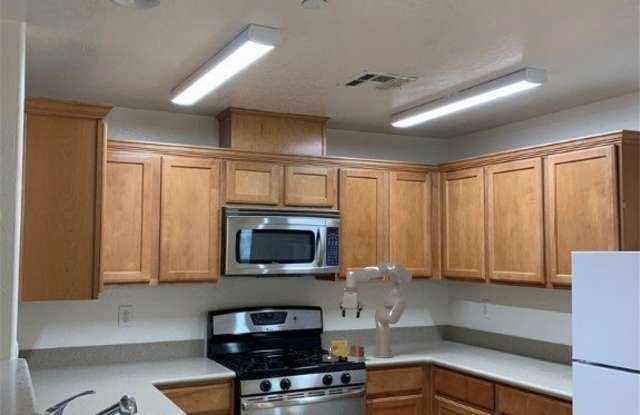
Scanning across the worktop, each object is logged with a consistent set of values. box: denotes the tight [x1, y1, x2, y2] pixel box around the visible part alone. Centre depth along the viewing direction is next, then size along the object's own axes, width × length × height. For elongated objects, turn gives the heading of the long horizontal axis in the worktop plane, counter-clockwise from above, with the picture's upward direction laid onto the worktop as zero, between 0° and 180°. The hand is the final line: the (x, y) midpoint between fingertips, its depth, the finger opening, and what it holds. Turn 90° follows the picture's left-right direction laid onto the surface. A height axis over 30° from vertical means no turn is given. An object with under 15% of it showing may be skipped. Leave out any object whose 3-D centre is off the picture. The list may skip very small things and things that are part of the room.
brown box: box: [348, 345, 365, 357], centre depth 387 cm, size 7×7×6 cm
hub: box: [322, 346, 340, 363], centre depth 385 cm, size 10×10×8 cm
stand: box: [347, 345, 366, 363], centre depth 386 cm, size 8×8×9 cm
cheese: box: [330, 339, 349, 358], centre depth 405 cm, size 10×11×10 cm
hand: (350, 317), depth 392 cm, fingers open, 9 cm apart
